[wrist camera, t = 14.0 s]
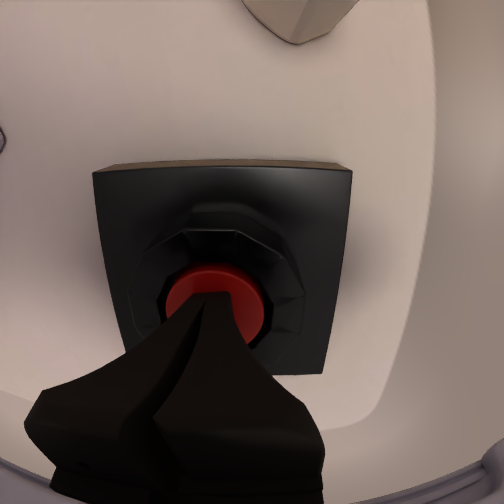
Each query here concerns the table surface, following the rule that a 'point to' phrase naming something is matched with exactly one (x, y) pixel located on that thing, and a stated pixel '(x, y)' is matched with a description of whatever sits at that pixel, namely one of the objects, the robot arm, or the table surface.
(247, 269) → the box
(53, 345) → the table surface
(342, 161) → the table surface
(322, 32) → the eye dropper bottle
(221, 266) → the button
